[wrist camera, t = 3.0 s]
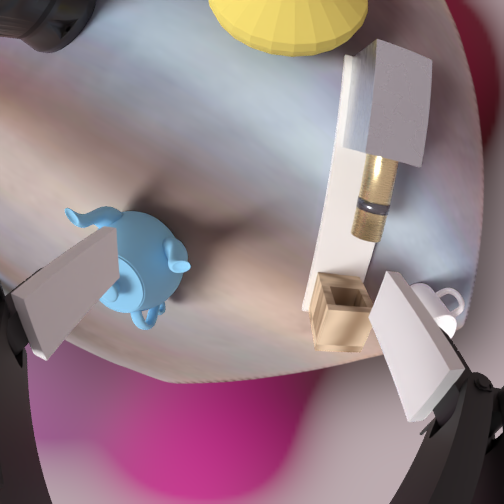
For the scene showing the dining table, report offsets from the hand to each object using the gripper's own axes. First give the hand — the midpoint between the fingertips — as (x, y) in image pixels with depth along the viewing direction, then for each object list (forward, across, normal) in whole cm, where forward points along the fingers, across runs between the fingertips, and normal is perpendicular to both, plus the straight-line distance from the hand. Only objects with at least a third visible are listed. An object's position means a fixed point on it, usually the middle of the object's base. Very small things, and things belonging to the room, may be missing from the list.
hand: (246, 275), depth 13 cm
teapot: (+28, -18, -13) cm, 36 cm away
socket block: (+28, +14, -15) cm, 35 cm away
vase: (+27, -1, +25) cm, 37 cm away
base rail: (+28, +13, 0) cm, 31 cm away
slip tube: (+22, +13, +7) cm, 27 cm away
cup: (+28, +32, -15) cm, 45 cm away
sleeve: (+27, +13, +13) cm, 33 cm away
